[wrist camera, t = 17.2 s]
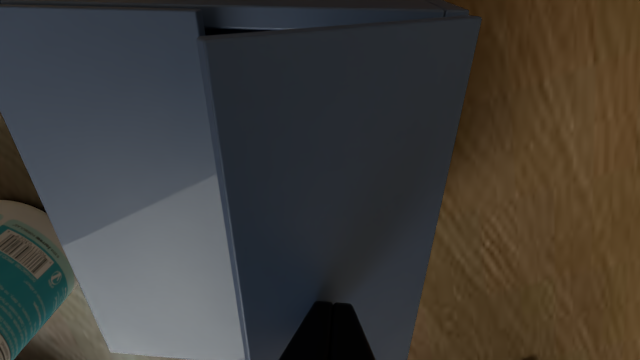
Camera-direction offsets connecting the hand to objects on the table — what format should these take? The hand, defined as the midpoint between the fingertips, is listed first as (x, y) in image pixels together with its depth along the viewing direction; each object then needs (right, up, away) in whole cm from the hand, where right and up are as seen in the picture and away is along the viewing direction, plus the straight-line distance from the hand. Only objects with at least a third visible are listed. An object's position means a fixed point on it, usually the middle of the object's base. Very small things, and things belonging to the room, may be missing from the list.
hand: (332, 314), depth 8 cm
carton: (-2, +5, +9) cm, 11 cm away
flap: (0, 0, +1) cm, 1 cm away
